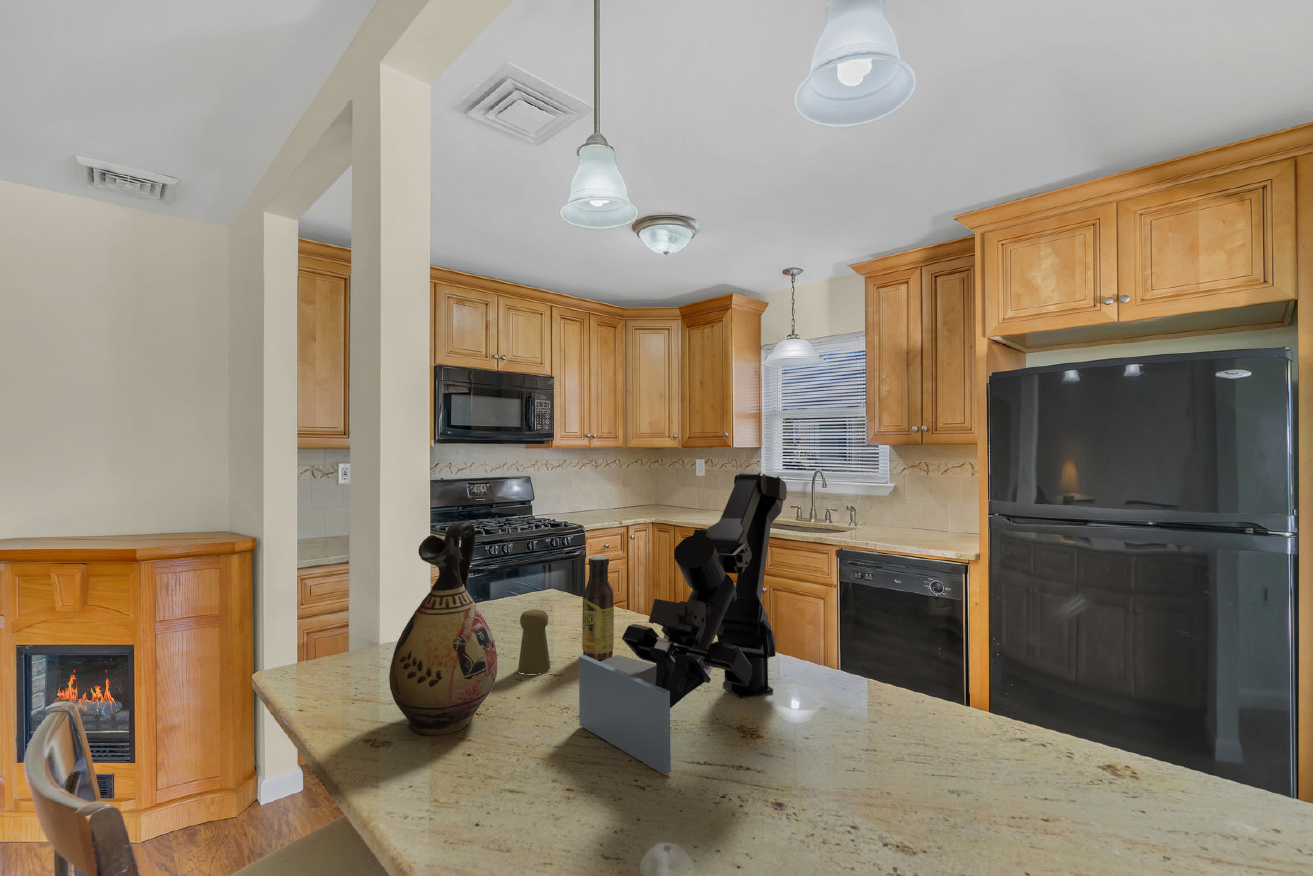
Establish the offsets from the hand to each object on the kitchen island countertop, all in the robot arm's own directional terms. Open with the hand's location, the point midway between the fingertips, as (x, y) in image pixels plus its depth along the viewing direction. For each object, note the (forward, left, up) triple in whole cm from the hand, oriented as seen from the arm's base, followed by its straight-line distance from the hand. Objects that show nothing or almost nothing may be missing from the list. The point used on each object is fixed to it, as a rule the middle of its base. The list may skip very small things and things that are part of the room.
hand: (657, 712), depth 79 cm
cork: (+9, -42, -7) cm, 44 cm away
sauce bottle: (-4, -44, -7) cm, 45 cm away
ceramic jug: (+25, -25, -7) cm, 36 cm away
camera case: (+1, -14, -7) cm, 15 cm away
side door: (+3, -6, -6) cm, 9 cm away
